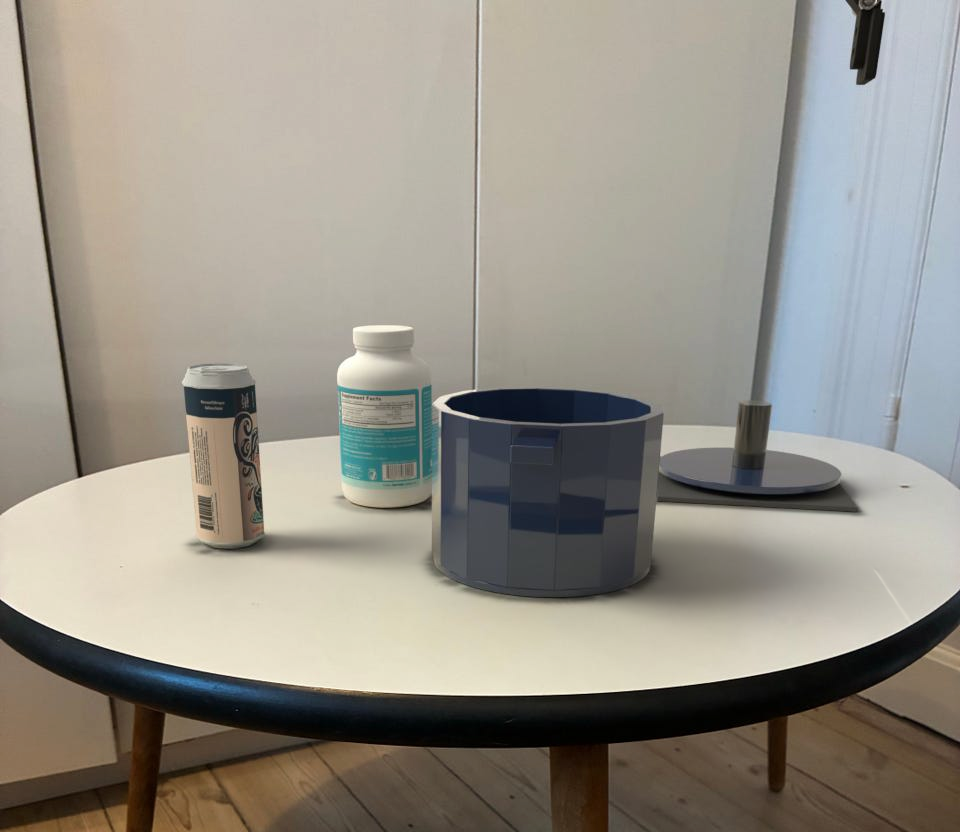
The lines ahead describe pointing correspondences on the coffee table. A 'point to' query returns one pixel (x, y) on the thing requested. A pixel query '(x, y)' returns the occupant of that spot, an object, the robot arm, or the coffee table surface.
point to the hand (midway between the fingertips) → (940, 82)
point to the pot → (544, 489)
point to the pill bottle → (385, 419)
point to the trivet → (754, 497)
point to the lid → (750, 462)
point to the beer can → (224, 454)
